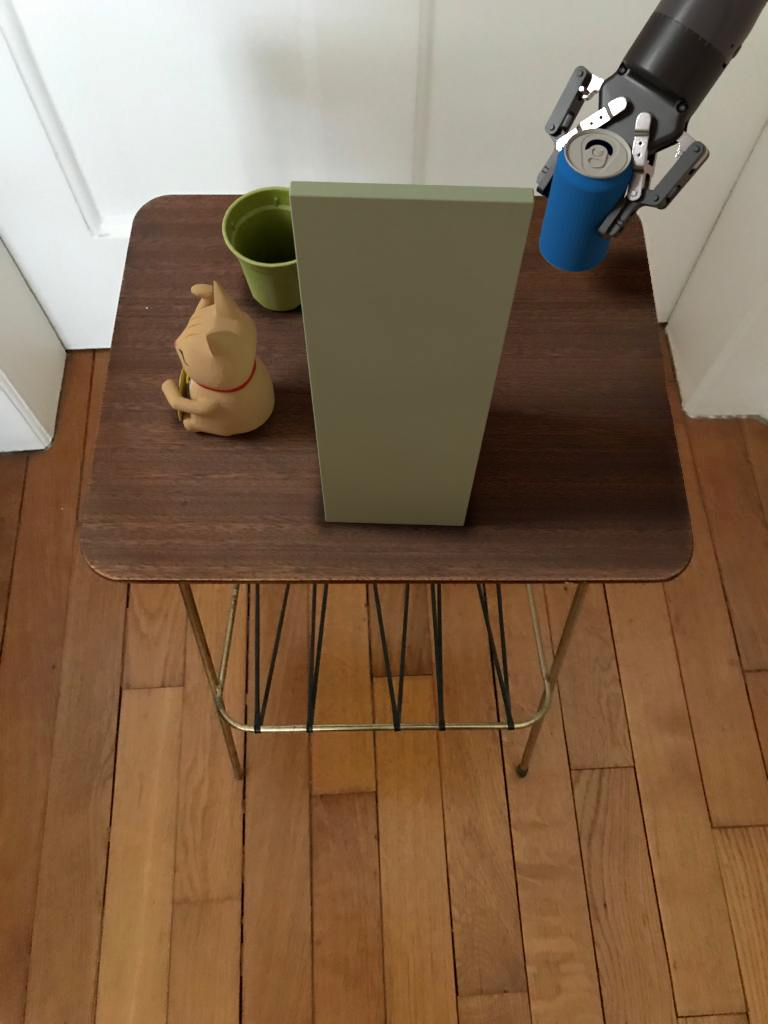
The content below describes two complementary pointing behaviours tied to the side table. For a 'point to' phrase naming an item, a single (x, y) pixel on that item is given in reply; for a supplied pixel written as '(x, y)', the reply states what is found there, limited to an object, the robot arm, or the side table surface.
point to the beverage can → (584, 198)
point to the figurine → (220, 369)
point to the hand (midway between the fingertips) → (572, 215)
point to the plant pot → (265, 246)
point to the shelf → (404, 337)
